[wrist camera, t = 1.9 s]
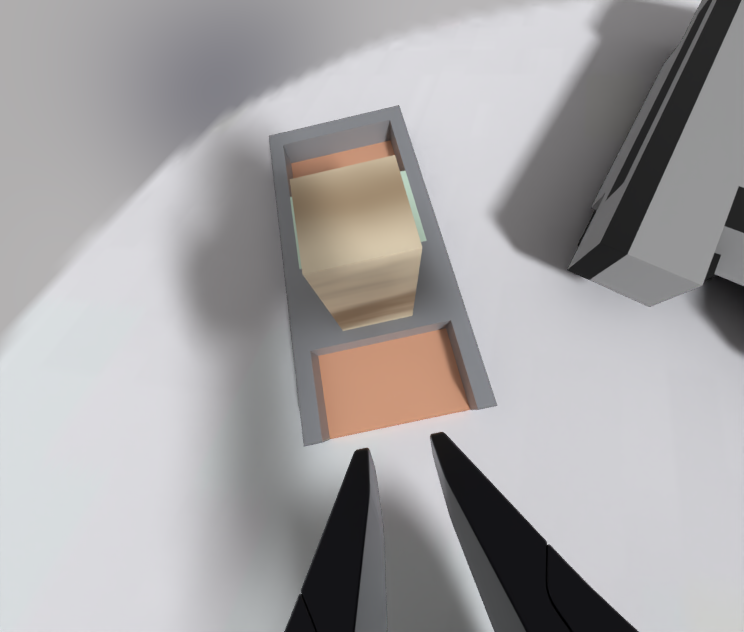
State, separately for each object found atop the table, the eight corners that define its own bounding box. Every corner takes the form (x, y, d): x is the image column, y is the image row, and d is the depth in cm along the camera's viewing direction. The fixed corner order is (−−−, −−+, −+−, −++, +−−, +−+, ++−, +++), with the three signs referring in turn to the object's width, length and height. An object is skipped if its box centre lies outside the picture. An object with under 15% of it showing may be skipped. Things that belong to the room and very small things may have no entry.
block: (412, 315, 20) (422, 247, 12) (343, 331, 20) (302, 274, 12) (396, 254, 22) (395, 155, 13) (332, 268, 22) (289, 179, 13)
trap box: (485, 406, 20) (497, 405, 18) (314, 441, 20) (303, 446, 18) (399, 130, 29) (399, 105, 26) (279, 158, 29) (268, 135, 27)
